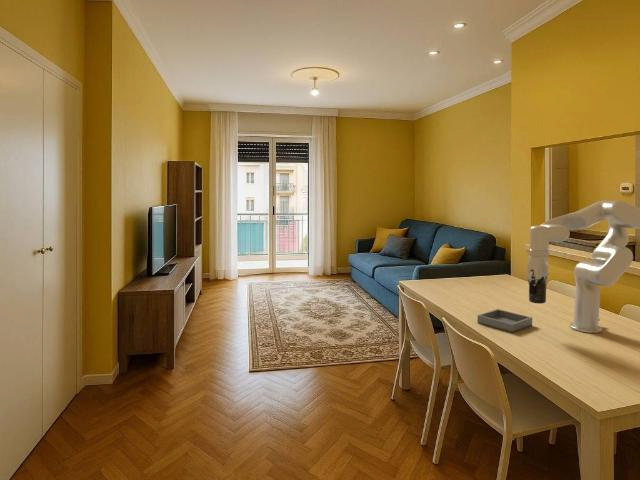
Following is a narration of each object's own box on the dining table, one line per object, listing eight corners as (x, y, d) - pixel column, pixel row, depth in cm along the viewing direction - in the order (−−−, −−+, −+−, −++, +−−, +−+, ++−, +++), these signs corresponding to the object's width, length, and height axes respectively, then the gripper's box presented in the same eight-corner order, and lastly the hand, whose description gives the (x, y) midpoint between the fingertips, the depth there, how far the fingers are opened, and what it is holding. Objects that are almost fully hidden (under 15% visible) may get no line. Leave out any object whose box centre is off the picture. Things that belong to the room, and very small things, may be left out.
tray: (497, 316, 208) (497, 308, 207) (532, 325, 193) (532, 317, 193) (477, 323, 198) (477, 315, 198) (512, 333, 183) (512, 324, 183)
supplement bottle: (529, 298, 186) (530, 273, 185) (546, 300, 182) (547, 274, 181) (527, 302, 181) (528, 276, 179) (544, 304, 177) (545, 277, 175)
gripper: (540, 250, 187) (539, 288, 189) (519, 254, 177) (518, 294, 179) (557, 252, 180) (555, 291, 183) (536, 256, 171) (535, 297, 173)
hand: (537, 292), depth 181 cm, fingers closed on supplement bottle, 6 cm apart
